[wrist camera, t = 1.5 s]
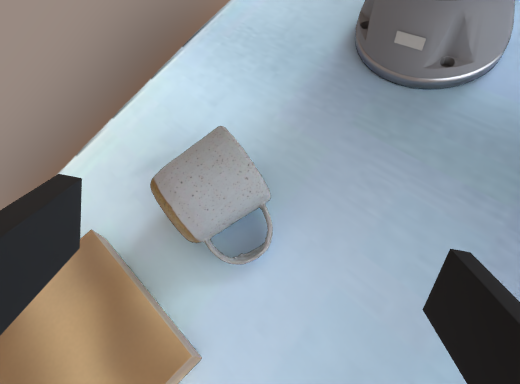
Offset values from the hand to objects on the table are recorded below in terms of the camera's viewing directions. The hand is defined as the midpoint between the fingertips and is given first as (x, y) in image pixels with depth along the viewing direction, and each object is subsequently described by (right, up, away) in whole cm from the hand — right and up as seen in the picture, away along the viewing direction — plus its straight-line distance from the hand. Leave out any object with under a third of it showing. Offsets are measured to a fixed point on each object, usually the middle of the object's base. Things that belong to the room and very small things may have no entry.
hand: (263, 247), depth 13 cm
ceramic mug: (-3, 0, +22) cm, 22 cm away
